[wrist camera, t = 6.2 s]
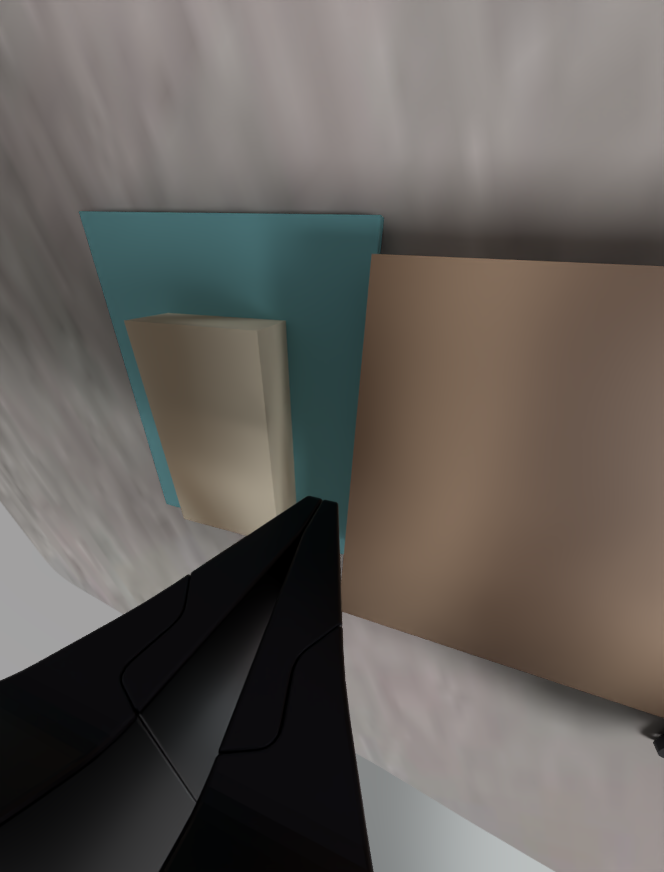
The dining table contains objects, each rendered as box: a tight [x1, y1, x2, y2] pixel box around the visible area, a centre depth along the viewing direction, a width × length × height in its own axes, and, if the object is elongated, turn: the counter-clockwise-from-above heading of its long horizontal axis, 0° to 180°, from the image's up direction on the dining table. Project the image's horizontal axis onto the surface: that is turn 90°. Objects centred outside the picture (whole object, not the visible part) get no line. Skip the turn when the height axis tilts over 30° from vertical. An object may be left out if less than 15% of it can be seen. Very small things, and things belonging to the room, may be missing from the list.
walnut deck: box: [341, 254, 664, 718], centre depth 9 cm, size 11×12×4 cm
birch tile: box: [124, 313, 296, 536], centre depth 13 cm, size 5×9×2 cm, turn 0°
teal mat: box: [79, 211, 384, 554], centre depth 13 cm, size 11×14×1 cm
